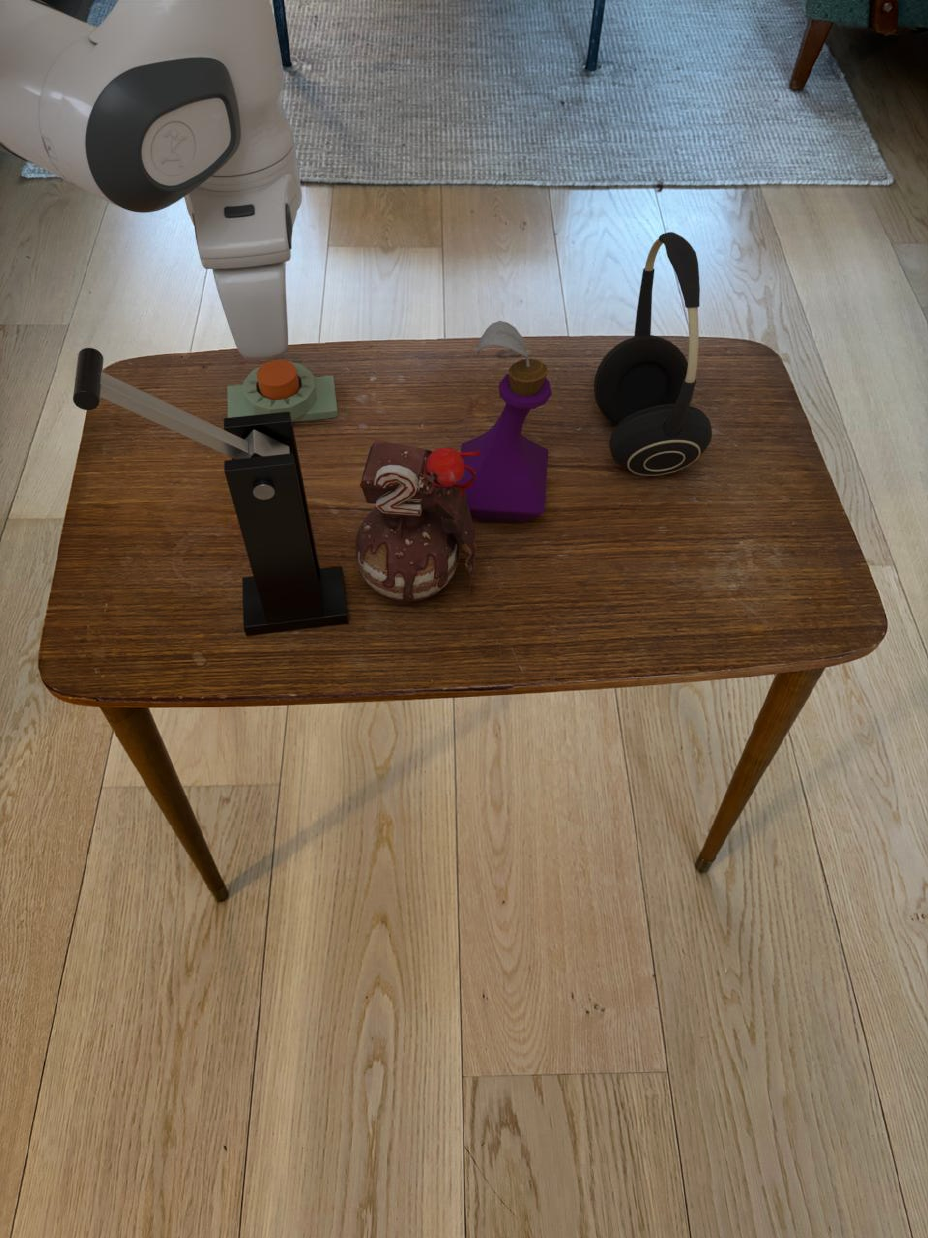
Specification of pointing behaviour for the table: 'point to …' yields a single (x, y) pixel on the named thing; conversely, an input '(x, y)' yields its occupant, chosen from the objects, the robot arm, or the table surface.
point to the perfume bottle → (509, 442)
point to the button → (278, 380)
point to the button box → (305, 405)
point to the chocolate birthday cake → (414, 520)
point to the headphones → (655, 380)
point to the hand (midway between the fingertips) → (271, 332)
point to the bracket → (280, 537)
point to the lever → (163, 411)
